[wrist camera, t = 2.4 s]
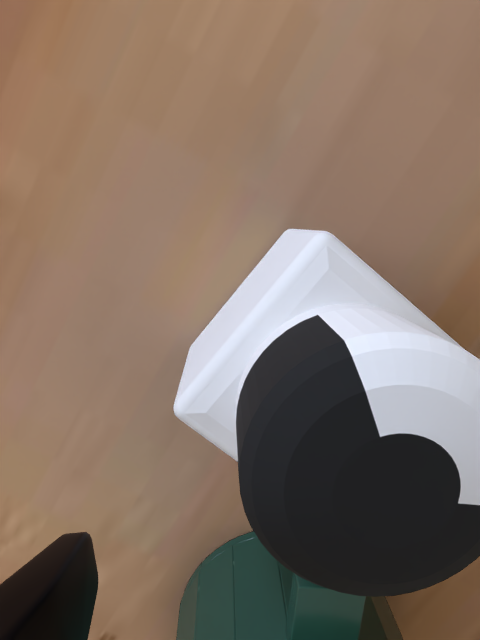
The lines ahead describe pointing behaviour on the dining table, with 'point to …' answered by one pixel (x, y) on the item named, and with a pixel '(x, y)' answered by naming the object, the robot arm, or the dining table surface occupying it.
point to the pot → (273, 602)
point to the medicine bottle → (341, 421)
